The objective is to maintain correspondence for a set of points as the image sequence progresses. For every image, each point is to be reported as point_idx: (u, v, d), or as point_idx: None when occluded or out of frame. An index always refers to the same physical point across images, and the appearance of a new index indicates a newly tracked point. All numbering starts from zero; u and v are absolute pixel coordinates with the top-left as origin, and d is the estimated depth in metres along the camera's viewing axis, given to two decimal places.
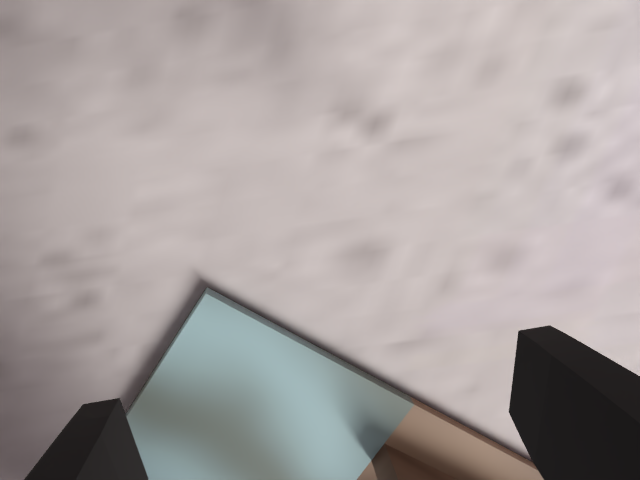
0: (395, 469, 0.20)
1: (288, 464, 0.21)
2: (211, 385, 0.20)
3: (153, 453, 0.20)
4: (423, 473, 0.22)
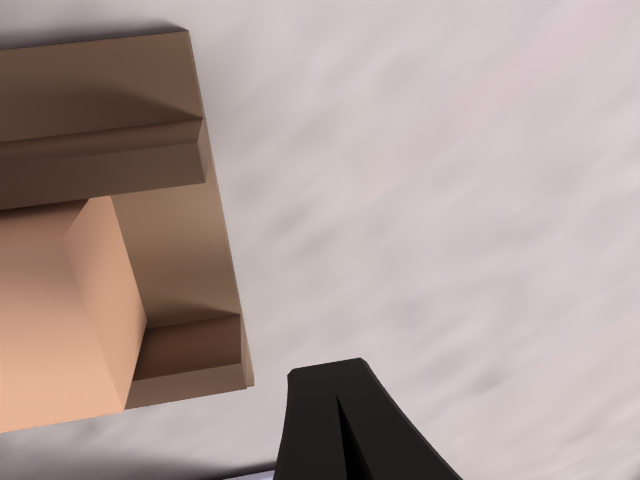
0: None
1: None
2: None
3: None
4: None
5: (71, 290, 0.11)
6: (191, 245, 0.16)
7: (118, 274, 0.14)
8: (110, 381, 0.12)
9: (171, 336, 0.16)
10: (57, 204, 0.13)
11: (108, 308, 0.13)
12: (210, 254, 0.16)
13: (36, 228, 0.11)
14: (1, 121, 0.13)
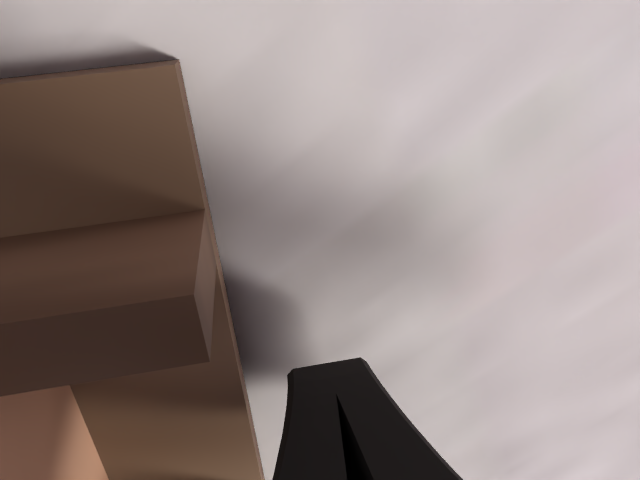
0: None
1: None
2: None
3: None
4: None
5: None
6: (186, 398, 0.10)
7: (60, 473, 0.08)
8: None
9: None
10: None
11: None
12: (217, 409, 0.10)
13: None
14: None
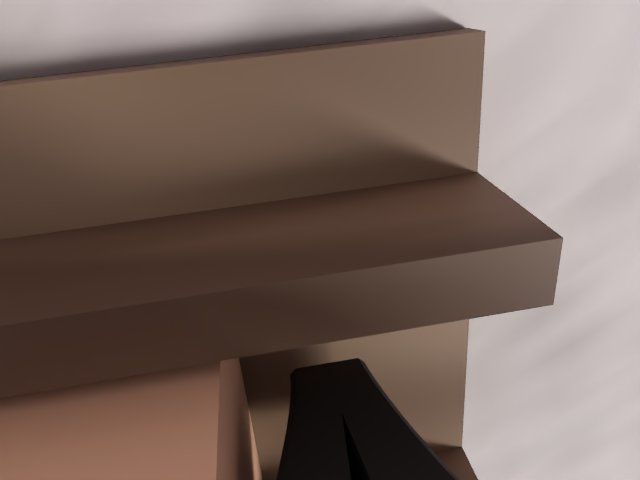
0: None
1: None
2: None
3: None
4: None
5: None
6: (415, 359, 0.10)
7: (245, 440, 0.09)
8: None
9: None
10: None
11: None
12: (440, 370, 0.10)
13: (149, 432, 0.06)
14: (159, 185, 0.08)
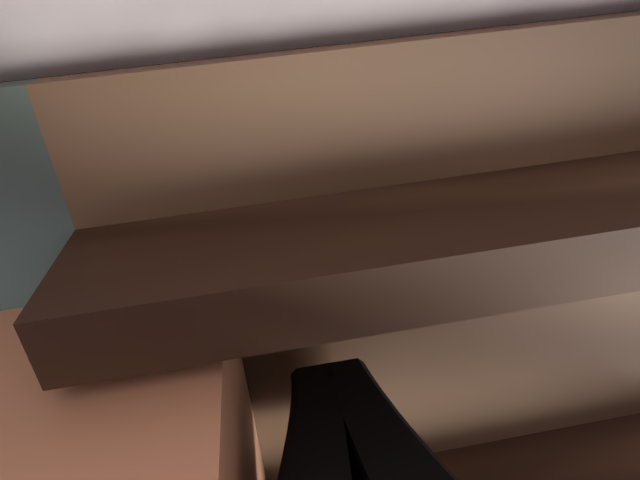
0: (47, 279, 0.07)
1: None
2: None
3: None
4: (188, 236, 0.07)
5: None
6: None
7: (248, 438, 0.09)
8: None
9: None
10: None
11: None
12: None
13: (150, 430, 0.06)
14: (554, 132, 0.08)
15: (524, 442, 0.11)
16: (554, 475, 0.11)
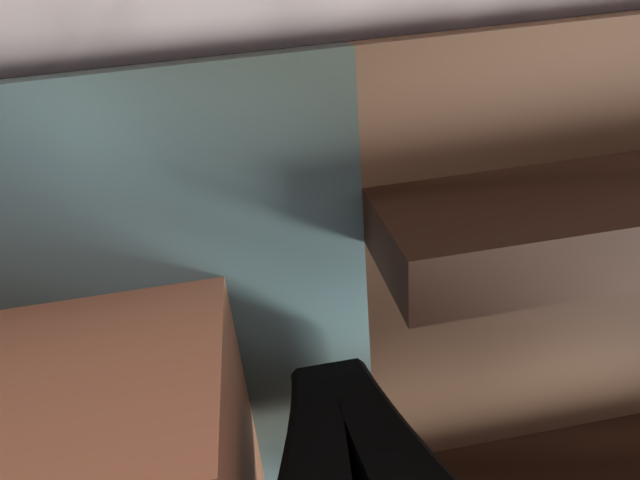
0: (391, 227, 0.07)
1: None
2: None
3: None
4: (491, 191, 0.08)
5: None
6: None
7: (247, 438, 0.09)
8: None
9: None
10: (168, 349, 0.07)
11: None
12: None
13: (149, 428, 0.06)
14: None
15: None
16: None
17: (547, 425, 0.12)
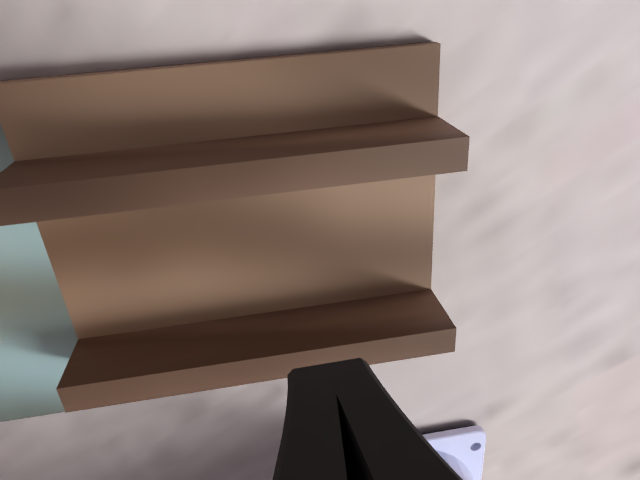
0: None
1: None
2: None
3: None
4: (70, 163, 0.14)
5: None
6: (404, 226, 0.18)
7: None
8: None
9: (378, 306, 0.18)
10: None
11: None
12: (418, 235, 0.18)
13: None
14: (277, 116, 0.16)
15: (300, 310, 0.19)
16: (308, 324, 0.18)
17: (192, 319, 0.18)
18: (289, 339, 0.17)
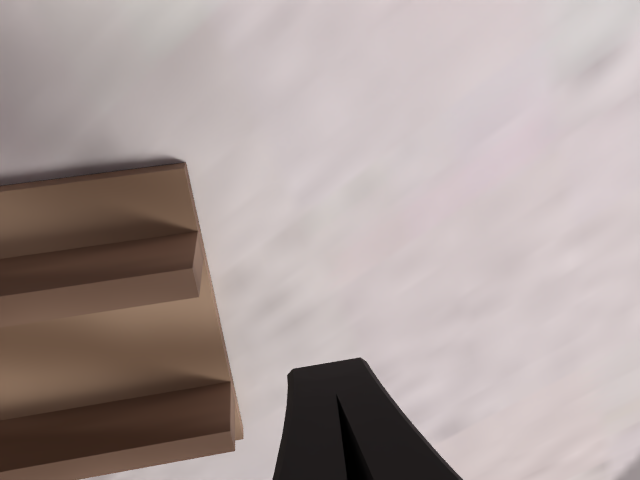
0: None
1: None
2: None
3: None
4: None
5: None
6: (188, 328, 0.18)
7: None
8: None
9: (171, 403, 0.19)
10: None
11: None
12: (205, 335, 0.19)
13: None
14: (32, 239, 0.16)
15: (97, 407, 0.19)
16: (96, 425, 0.18)
17: None
18: (70, 443, 0.18)
